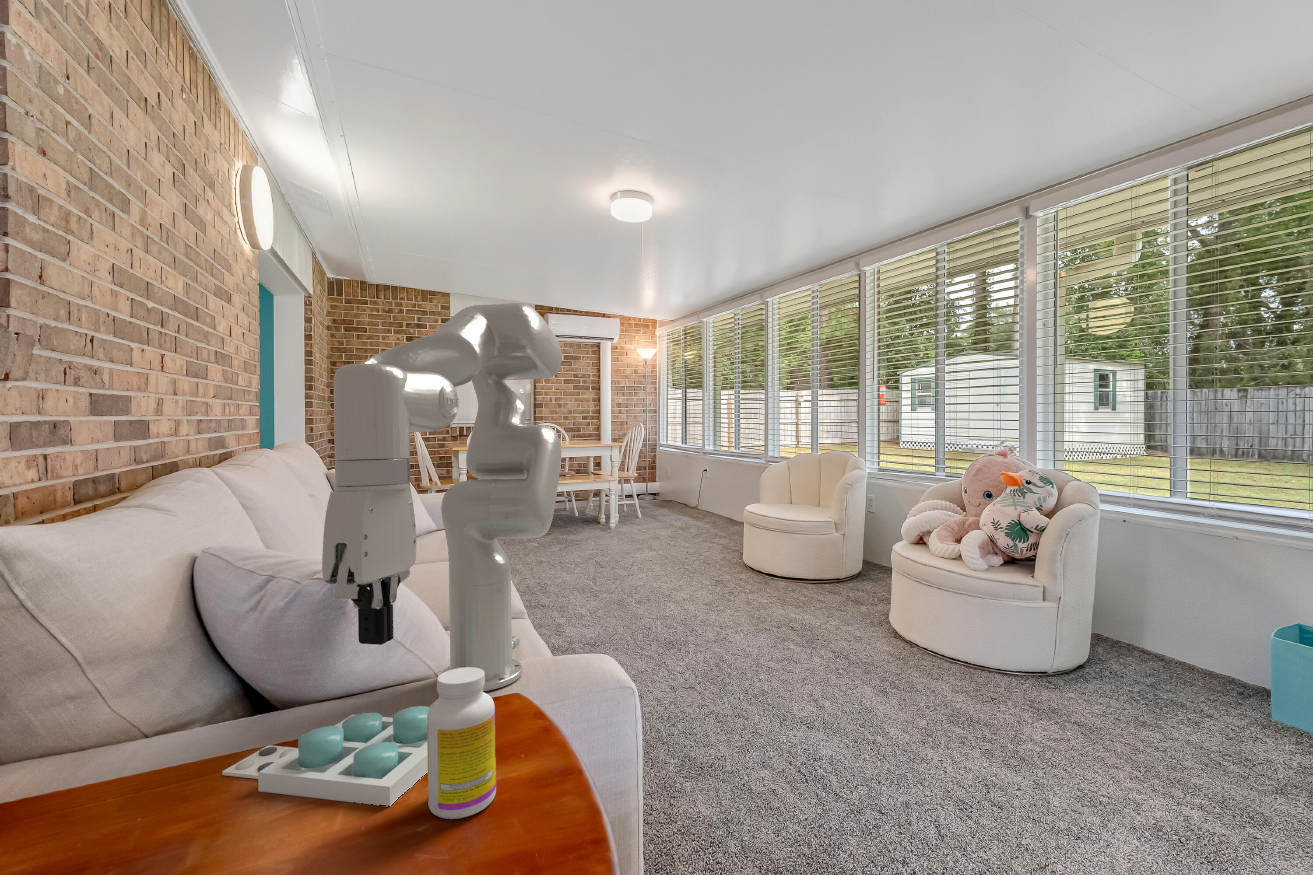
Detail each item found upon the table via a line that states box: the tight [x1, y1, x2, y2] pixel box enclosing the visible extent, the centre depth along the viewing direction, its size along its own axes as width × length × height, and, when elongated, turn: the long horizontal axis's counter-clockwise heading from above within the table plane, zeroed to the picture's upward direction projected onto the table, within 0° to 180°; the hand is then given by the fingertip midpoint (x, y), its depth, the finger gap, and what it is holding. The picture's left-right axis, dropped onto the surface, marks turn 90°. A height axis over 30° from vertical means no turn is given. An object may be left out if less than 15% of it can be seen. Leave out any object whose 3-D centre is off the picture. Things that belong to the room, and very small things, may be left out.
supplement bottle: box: [427, 667, 497, 820], centre depth 60 cm, size 7×7×13 cm
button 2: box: [342, 712, 383, 743], centre depth 71 cm, size 4×4×2 cm
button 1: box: [297, 725, 344, 768], centre depth 65 cm, size 4×4×2 cm
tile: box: [221, 744, 298, 780], centre depth 68 cm, size 6×6×1 cm
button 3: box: [353, 742, 398, 779], centre depth 63 cm, size 4×4×2 cm
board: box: [257, 714, 428, 807], centre depth 67 cm, size 14×16×2 cm
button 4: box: [392, 705, 430, 744], centre depth 70 cm, size 4×4×2 cm
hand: (376, 641), depth 64 cm, fingers closed
